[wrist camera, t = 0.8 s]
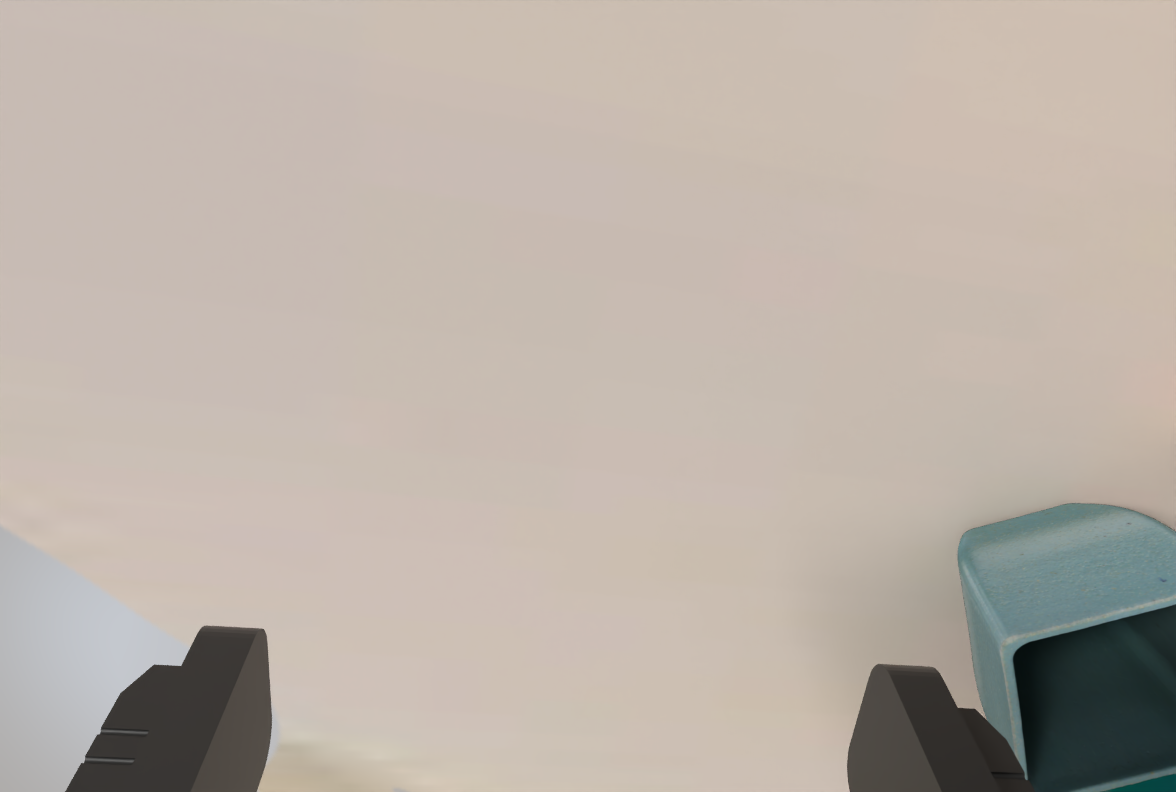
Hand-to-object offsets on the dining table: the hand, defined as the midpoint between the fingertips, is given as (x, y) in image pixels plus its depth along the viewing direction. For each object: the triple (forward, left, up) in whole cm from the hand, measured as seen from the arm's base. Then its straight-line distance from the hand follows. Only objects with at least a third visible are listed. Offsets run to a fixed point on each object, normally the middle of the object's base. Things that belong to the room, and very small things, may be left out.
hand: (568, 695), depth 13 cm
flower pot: (+5, +26, -26) cm, 37 cm away
